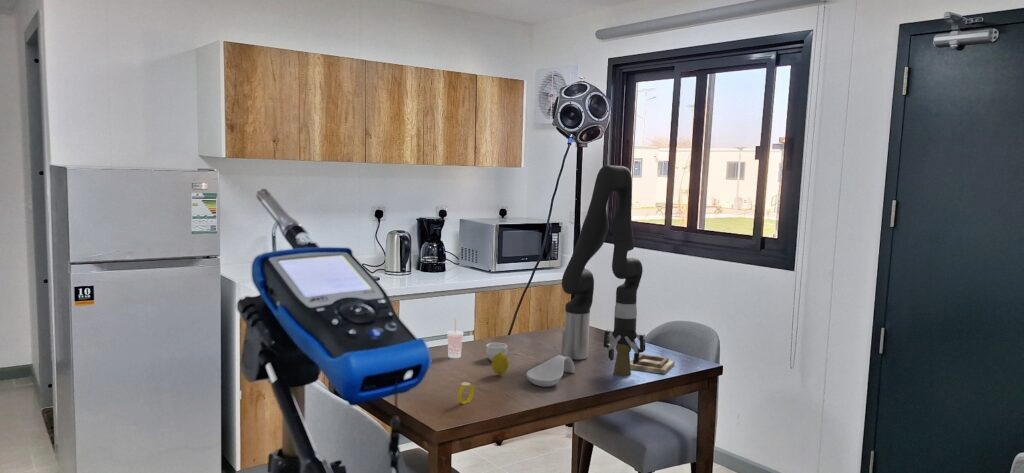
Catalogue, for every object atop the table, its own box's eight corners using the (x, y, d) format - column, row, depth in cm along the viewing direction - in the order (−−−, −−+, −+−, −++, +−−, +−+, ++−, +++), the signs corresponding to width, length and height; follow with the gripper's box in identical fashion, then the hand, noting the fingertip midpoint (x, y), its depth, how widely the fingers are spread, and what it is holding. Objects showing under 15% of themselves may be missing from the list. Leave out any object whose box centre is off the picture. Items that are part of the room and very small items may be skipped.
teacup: (498, 363, 250) (498, 349, 250) (481, 359, 255) (481, 345, 254) (514, 358, 258) (515, 344, 258) (497, 354, 263) (498, 340, 262)
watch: (462, 407, 204) (462, 387, 203) (455, 405, 206) (455, 385, 205) (475, 400, 209) (475, 381, 208) (468, 398, 211) (468, 379, 210)
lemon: (496, 378, 232) (496, 355, 231) (488, 374, 237) (489, 351, 236) (510, 376, 235) (511, 353, 234) (503, 372, 240) (504, 349, 239)
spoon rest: (551, 392, 220) (552, 370, 220) (519, 385, 226) (520, 364, 226) (583, 375, 240) (584, 355, 240) (553, 369, 247) (554, 349, 246)
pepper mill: (630, 377, 239) (632, 345, 238) (612, 375, 241) (614, 344, 240) (631, 372, 245) (632, 341, 244) (613, 370, 246) (615, 340, 245)
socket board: (626, 367, 250) (626, 360, 250) (637, 359, 263) (637, 352, 263) (664, 374, 244) (665, 366, 244) (674, 364, 257) (674, 357, 257)
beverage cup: (464, 358, 256) (466, 320, 255) (448, 359, 254) (449, 321, 252) (459, 353, 262) (461, 317, 260) (444, 354, 259) (445, 317, 258)
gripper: (602, 315, 241) (600, 361, 242) (642, 319, 234) (640, 367, 236) (609, 311, 247) (607, 356, 249) (648, 316, 241) (646, 362, 242)
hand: (623, 361), depth 242 cm, fingers open, 8 cm apart
